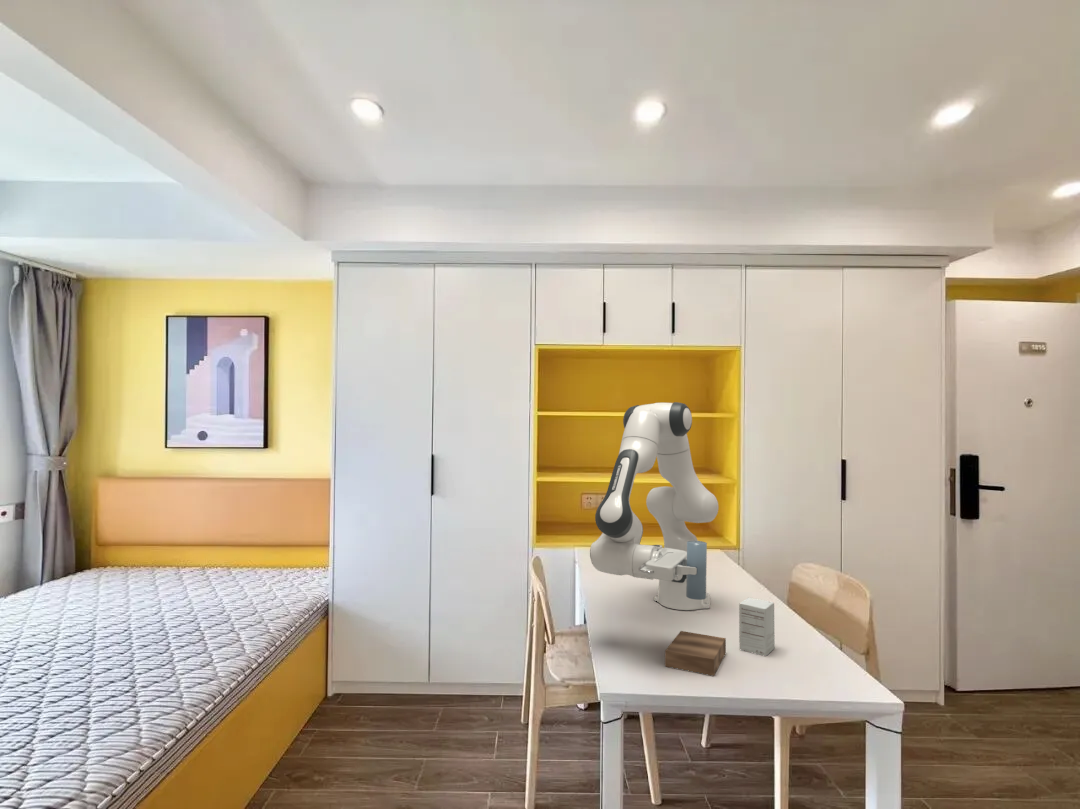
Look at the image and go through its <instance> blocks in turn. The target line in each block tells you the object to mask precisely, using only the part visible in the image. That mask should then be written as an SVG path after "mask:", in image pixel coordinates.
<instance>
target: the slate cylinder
mask: <svg viewBox="0 0 1080 809" xmlns="http://www.w3.org/2000/svg"><path fill="white" fill-rule="evenodd" d="M707 544H708V542H706V541H703V540H702V541H701V540H698V541H687V566H689V567H690V566H694V567H697V574H696V575H692V574H687V576H686V597H688V598H690V599H696V600H702V599H706V593H707V565H708V564H707V558H708V557H707V556H708V555H707V554H708V553H707V551H708V548H707V547H708V546H707Z"/></svg>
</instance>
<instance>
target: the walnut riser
mask: <svg viewBox="0 0 1080 809" xmlns="http://www.w3.org/2000/svg"><path fill="white" fill-rule="evenodd" d="M726 640H727V638H726V637H720V636H715V635H708V634H702V633H697V632H691V631H690V632H689V631H684V630H680V631H679V632H678V634H677V635H676V636H675V637H674V638H673V640H672V641H671V642H670V644H669V645H668V646H667V647H666V649H665V650H664V652H665V653H664V654H665V656H664V665H665V666H666V668H670V667H673V668H672V669H675V668H678V669H677V670H680V669H683V670H682V671H685V670H689V671H688V672H690V671H693V672H692V673H696V672H699V673H698V674H701V673H703V674H702V675H706V674H708V676H711V675H713V677H714V676H715V674H716V673H717V671H718V669H719V667H720V665H721V663H722V662H723V660H722V659H724V658H725V656H724V655H726V654H725V653H727V652H726V651H727V650H726V649H727V646H726V643H727V642H726ZM723 657H724V658H723Z"/></svg>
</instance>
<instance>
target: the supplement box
mask: <svg viewBox="0 0 1080 809" xmlns="http://www.w3.org/2000/svg"><path fill="white" fill-rule="evenodd" d="M738 606H739V607H738V608H739V609H738V613H739V615H738V616H739V619H738V623H739V627H738V631H739V632H738V633H739V637H738V638H739V639H738V640H739V641H738V642H739V650H740V649H741V650H740V651H743V650H745V651H744V652H747V651H749V652H748V653H751V652H753V653H752V654H754V653H756V654H755V655H758V654H760V655H759V656H763V655H764V657H766V656H768V655H769V654H770V653H771V652H772V651H773V650H774V649H776V648H775V642H776V641H775V602H773V601H770V600H765V599H759V598H758V599H757V598H753V597H747V598H746V599H744V600H742V601H741V602H739V604H738Z"/></svg>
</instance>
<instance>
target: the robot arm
mask: <svg viewBox="0 0 1080 809" xmlns="http://www.w3.org/2000/svg"><path fill="white" fill-rule="evenodd" d="M622 422H623V428H624V430H623V434H622V438H621V443H620V447H619V452H618V456H617V458H616V461H615V464H614V466H613V470H612V473H611V476H610V480H609V483H608V487H607V490H606V493H605V495H604V497H603V499H602V501H601V502H600V504H599V505H598V507H597V509H596V511H595V514H594V516H595V517H594V518H595V519H594V521H595V525H596V526H597V528H598V530H599V531H600V532H601V535H600V536H598V538H596V540H595V541H593V542H592V543H591V545H590V549H589V557H590V561H591V564H592V567H594V568H595V570H597V571H598V572H600V573H605V574H609V575H614V576H631V577H633V578H637V579H645V580H652V581H653V580H658V589H657V590H658V592H657V595H655V596H654V597H653V601H655V602H656V601H657V603H658V604H660V605H662V606H663V607H665V608H668V609H673V610H679V611H695V610H702V609H710V608H711V594H710V593H708V592H706V599H702V600H696V599H690V598H688V597H686V576H687V574H692V575H696V574H697V567H694V566H690V567H689V566H687V541H699V540H698V538H697V536H696V535H695V534H693V533H692V532H691V531H690V530H689V529H688V527H687V525H686V522H688V523H693V524H695V523H696V524H700V523H701V524H702V523H711V522H713V521H714V520H715V519H716V517H717V515H718V513H719V501H718V500H717V497H716V496H715V494H714V493H712V492H711V491H710V490H708V488H706V487H705V486H704V484H703V483H702V481H700V479H699V476H697V473H696V471H695V468H694V465H693V464H694V463H693V460H692V453H691V449H690V443H689V438H688V433H689V431H691V427H692V425H693V417H692V411H691V409H690V408H689V406H688V405H687V404H685V403H682V402H677V401H676V402H675V401H674V402H655V403H648V404H647V403H645V404H641V405H639V404H637V405H633V406H630V407H628V409H627V410H626V411H625V412H624V414H623V420H622ZM656 460H657V465H658V472H659V474H660V475H661V477H662V478H663V479H664V480H666V481H667V482H668V483H669V484H670V485H671V486H657V487H653V488H652V489H650V491H649V492H648V493H647V495H646V500H645V502H646V503H645V505H646V507H647V510H648V512H649V513H650V515H652V516H653V517H654V519H655V520H656V521H657V523H658V525H659V527H660V530H661V533H662V536H663V545H662V544H653V545H650V544H641V540H642V537H643V534H644V528H643V527H644V526H643V524H642V522H641V520H640V519H639V517H638V516H637V515H636V514H635V512H634V511H633V510H632V507H631V504H630V498H631V494H632V490H633V486H634V482H635V478H636V476H637V474H643V473H646V472H648V471H650V470H651V469H652V468H653V466H654V465H655V462H656ZM663 546H664V547H663Z"/></svg>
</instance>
